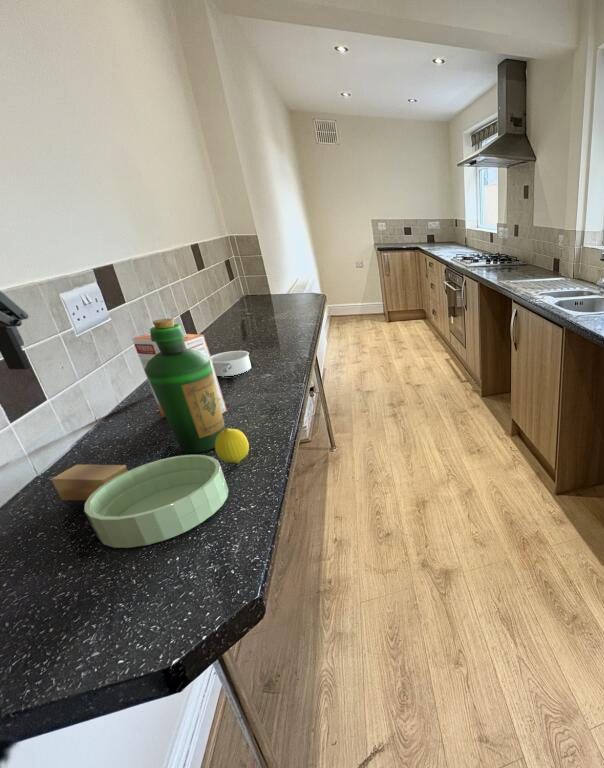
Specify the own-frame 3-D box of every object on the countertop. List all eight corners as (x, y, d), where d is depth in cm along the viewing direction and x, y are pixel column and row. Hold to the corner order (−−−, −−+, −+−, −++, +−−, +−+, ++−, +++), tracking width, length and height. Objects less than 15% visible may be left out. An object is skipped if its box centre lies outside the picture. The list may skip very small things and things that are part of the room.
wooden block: (65, 507, 71) (50, 479, 69) (90, 491, 75) (76, 464, 73) (115, 507, 71) (102, 479, 69) (137, 492, 75) (125, 464, 73)
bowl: (67, 549, 62) (50, 518, 60) (161, 480, 78) (150, 453, 76) (178, 552, 62) (165, 520, 59) (250, 482, 78) (242, 455, 75)
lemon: (248, 452, 87) (239, 419, 84) (256, 463, 84) (246, 428, 81) (218, 462, 84) (207, 428, 81) (224, 474, 80) (213, 438, 77)
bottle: (234, 447, 89) (195, 322, 78) (173, 463, 84) (122, 330, 73) (232, 428, 97) (197, 312, 87) (176, 441, 92) (131, 318, 81)
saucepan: (206, 391, 117) (200, 373, 115) (213, 370, 134) (208, 354, 131) (252, 384, 123) (247, 366, 120) (253, 364, 139) (249, 348, 137)
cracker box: (160, 418, 102) (129, 337, 94) (181, 407, 108) (154, 330, 100) (209, 422, 100) (182, 340, 92) (228, 411, 106) (204, 333, 97)
